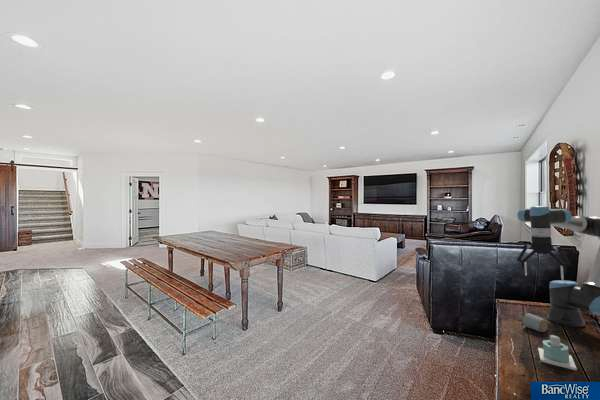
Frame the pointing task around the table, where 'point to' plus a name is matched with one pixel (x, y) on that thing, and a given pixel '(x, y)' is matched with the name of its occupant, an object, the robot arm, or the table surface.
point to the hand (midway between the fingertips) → (543, 277)
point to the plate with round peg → (570, 364)
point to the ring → (556, 351)
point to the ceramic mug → (535, 322)
